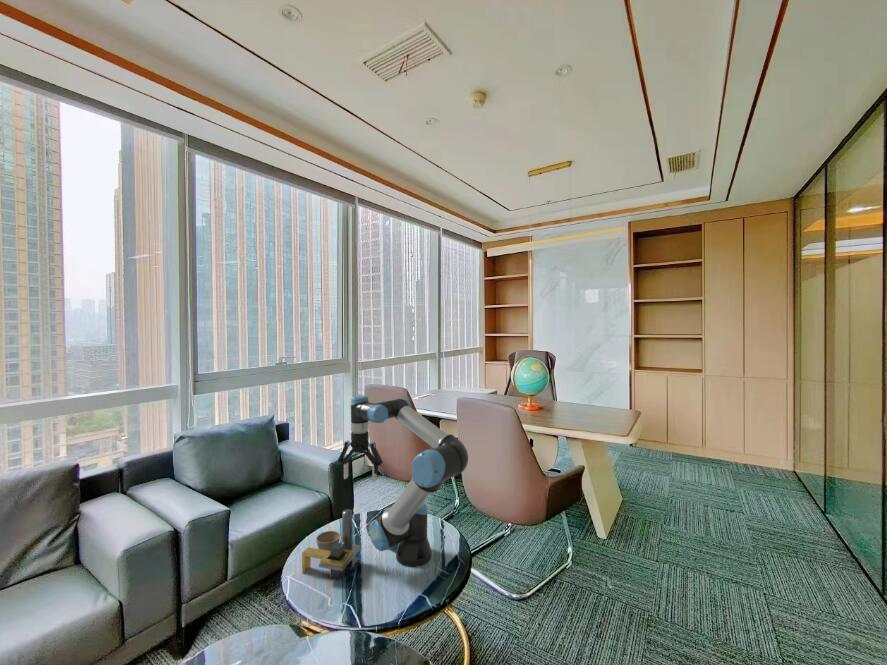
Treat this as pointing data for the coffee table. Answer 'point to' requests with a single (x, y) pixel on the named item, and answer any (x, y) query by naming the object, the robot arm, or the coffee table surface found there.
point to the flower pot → (327, 539)
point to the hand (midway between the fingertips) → (360, 479)
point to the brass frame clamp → (324, 555)
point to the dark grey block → (337, 554)
